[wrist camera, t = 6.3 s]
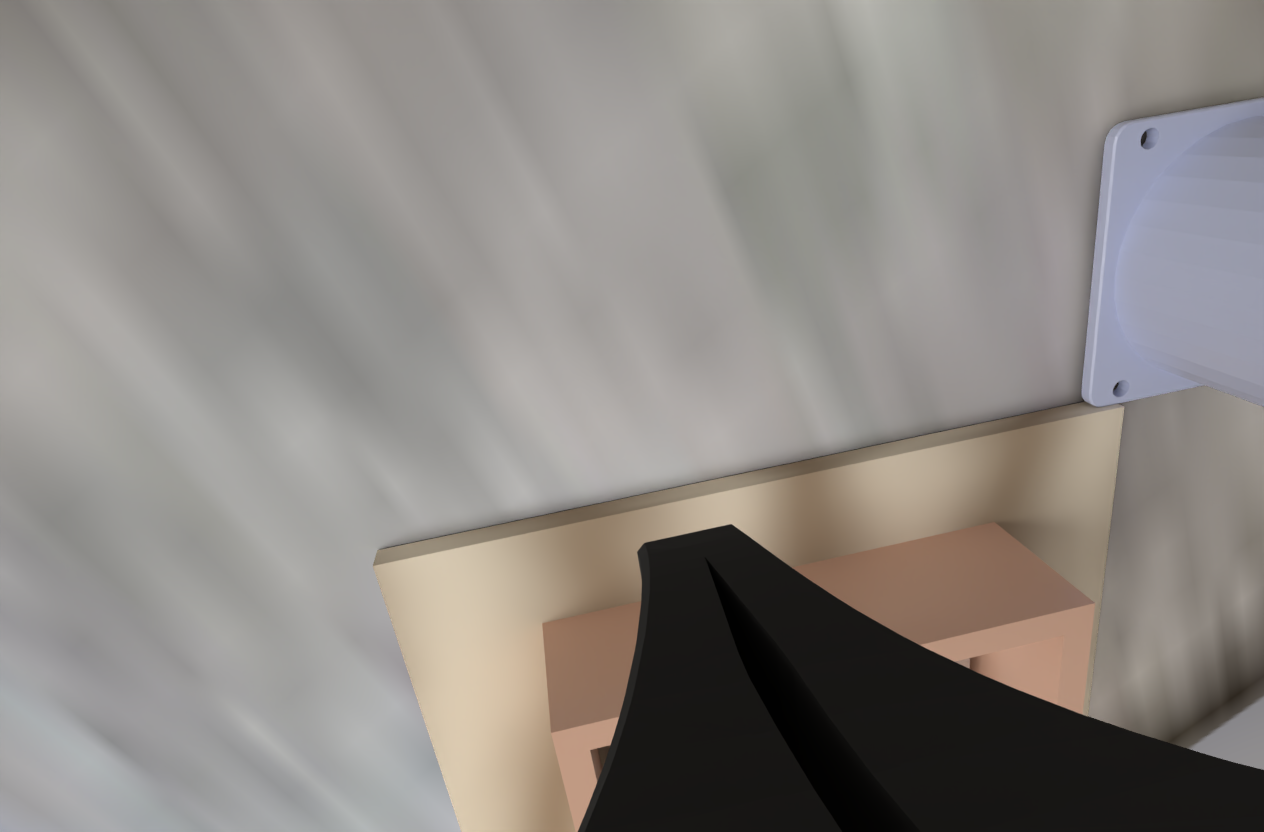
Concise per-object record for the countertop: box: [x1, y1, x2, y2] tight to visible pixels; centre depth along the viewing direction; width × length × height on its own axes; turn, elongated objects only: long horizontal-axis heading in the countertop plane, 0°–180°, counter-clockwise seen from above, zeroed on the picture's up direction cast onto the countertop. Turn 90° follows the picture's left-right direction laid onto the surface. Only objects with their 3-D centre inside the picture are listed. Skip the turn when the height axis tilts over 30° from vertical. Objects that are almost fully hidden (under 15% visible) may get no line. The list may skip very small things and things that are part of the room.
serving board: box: [373, 402, 1124, 832], centre depth 25 cm, size 22×20×1 cm
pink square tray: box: [542, 522, 1095, 832], centre depth 23 cm, size 14×14×4 cm
